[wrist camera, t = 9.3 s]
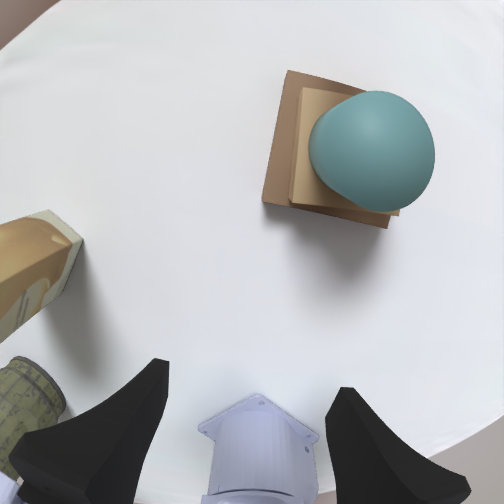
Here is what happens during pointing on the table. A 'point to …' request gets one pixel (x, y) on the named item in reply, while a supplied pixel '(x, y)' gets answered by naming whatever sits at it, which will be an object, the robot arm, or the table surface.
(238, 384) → the table surface
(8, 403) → the thermos
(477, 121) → the table surface
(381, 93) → the teal cylinder
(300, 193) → the oak block
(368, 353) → the table surface
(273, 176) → the walnut slab
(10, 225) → the skincare box
